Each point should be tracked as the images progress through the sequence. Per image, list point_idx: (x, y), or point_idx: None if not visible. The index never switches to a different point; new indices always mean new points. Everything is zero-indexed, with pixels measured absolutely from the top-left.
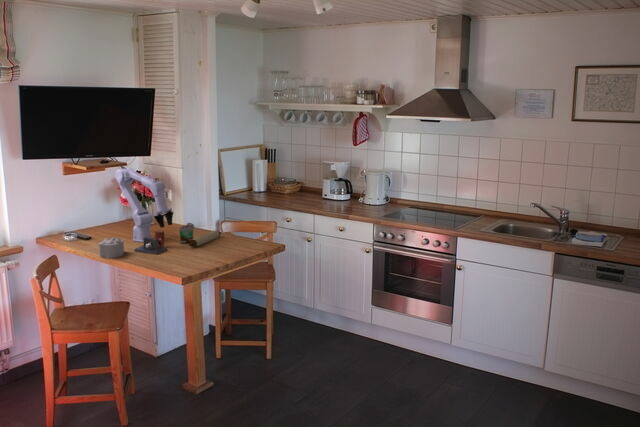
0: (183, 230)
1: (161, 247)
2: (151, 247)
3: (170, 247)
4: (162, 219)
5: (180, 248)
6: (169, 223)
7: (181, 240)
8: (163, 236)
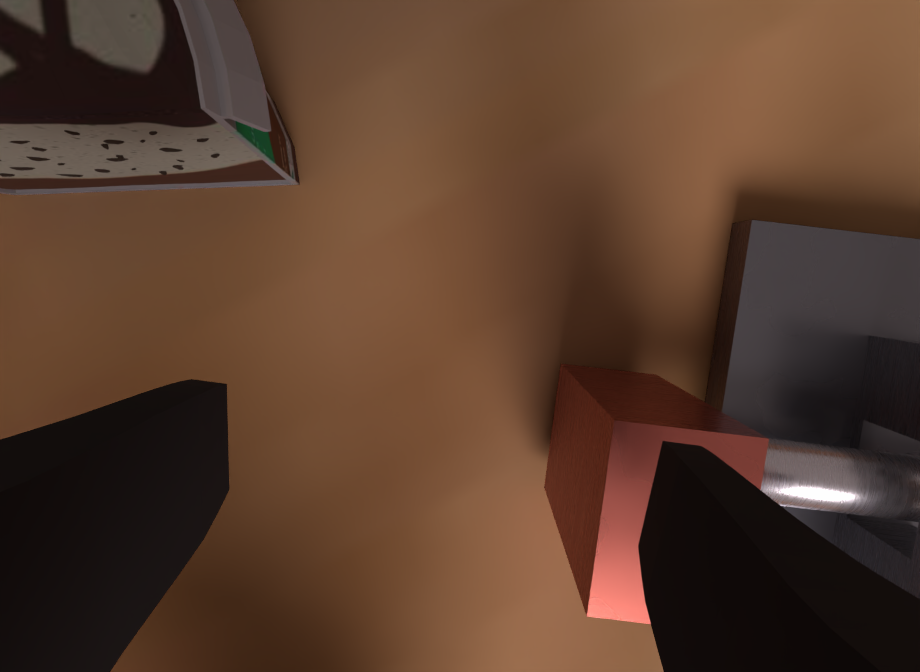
0: (228, 6)
1: (796, 309)
2: (906, 454)
3: (577, 240)
4: (911, 613)
5: (583, 42)
6: (204, 472)
7: (286, 153)
8: (624, 397)
